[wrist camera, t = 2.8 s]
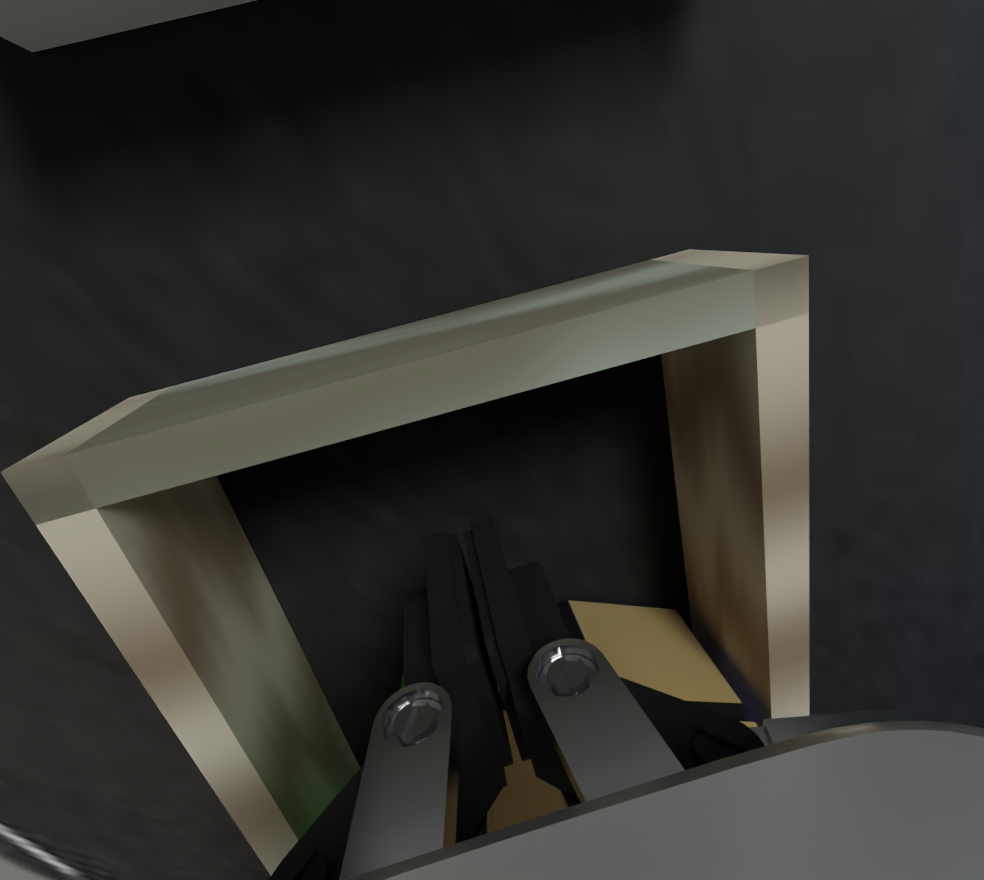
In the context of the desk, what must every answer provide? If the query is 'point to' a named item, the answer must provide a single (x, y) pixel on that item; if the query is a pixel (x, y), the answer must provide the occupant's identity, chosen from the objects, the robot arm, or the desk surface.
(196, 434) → the wooden frame
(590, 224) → the desk surface
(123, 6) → the frame
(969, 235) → the desk surface
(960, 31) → the desk surface
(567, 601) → the puzzle cube
